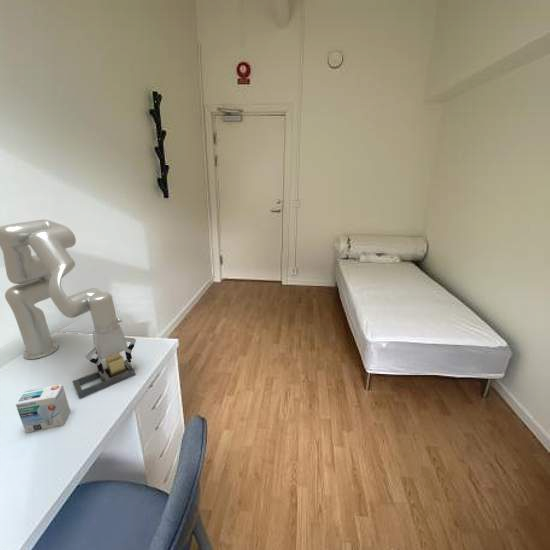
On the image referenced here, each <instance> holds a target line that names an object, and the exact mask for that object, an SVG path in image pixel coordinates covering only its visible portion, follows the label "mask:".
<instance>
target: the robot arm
mask: <svg viewBox="0 0 550 550" xmlns="http://www.w3.org/2000/svg"><path fill="white" fill-rule="evenodd" d="M76 240H77V238H76V236H75V234H74V232H73V231H72V230H71V229H70V228H69V227H67V226H66V225H63V224H62V223H58V222H55V221H52V220H49V219H35V220H29V221H24V222H22V221H21V222H17V223H9V224H6V225H2V226H0V249H1V252H2V255H3V261H4V267H5V272H6V277H7V279H8V281H9V282H10V283H12V284H15V285H13V286H11V287H9V288H8V289H7V290H6V291H5V292H4V299H5V300H6V302H7V304H8V306H9V308H10V309H11V310H12V313H13V315H14V318H15V320H16V323H17V326H18V329H19V332H20V335H21V338H22V341H23V345H24V347H25V350H24V352H23V354H22V356H23V358H24V359H25V360H36V359H41V358H44V357H47V356H49V355H51V354H53V353H55V352H56V351H57V350H58V349H59V345H58V343H57V342H55V341H53V338H52V336H51V333H50V332H51V331H50V329H49V326H48V322H47V319H46V316H45V313H44V311H43V310H42V309H41V308H39V307H37V306H36V304H38V303H39V302H43V301H46V300H48V299H50V298H51V301H52V302H53V304H54V305H55V307H56V308H57V309H58V310H59V312H61V314H62V315H63V316H64V317H66V318H70V319H73V318H78V317H79V316H81V315H84V314H86V313H88V312H90V316H91V320H92V323H93V326H94V327H93V328H94V331H93V332H92V337H93V338H92V339H93V340H92V341H93V346H94V348H92V349H91V350H90V351H89V352H88V353H87V354H86V355H84V356H85V359H86V360H87V361H89V362H90V363H92V364H95V365H96V368H97V371H99V372H100V371H101V373H102V374H103V373H104V370H103V369H104V366H103V363H102V361H103V360H104V359H105V358H106V357H109V356H112V355H114V354H117V353H119V354H121V353H122V352H124V353H125V358H126V359H125V360H127V361H128V362H129V364H131V363H132V359H133V357H132V352H133V349H135V345H136V341H137V339H136V338H134V337H126V336H125V332H124V331H123V328H122V327H121V325H120V324H121V323H122V321H123V319H122V318H117V313H116V310H115V305H114V300H113V296H112V294H111V293H110V292H107V291H102V290H100V289H98V288H94V287H91V288H87V289H84V290H82V291H79V292H77V293H74V294H72V295H69V296H67V294H66V293H65V291H64V290H63V288H62V279H63V278H64V277H65V276H66V275H67V274H70V273H71V272H72V270H73V269H74V268H75V267H76V262H75V260H74V259H73V258H72V256H71V255H70V254H69V252H68V250H67V249H70V248H73V247H74V246H75V245H76ZM30 247H31V248H30ZM32 250H33V252H34V253H35V255H32ZM128 343H129V345H128ZM95 354H96V357H95V358H94V357H93V356H94V355H95Z"/></svg>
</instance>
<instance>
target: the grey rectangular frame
mask: <svg viewBox="0 0 550 550" xmlns="http://www.w3.org/2000/svg"><path fill="white" fill-rule="evenodd" d="M124 364H125V369H126V372H124V373H121V374H119V375H116V376H114V377H112V378H110V376H109V373H108V369H107V367H105V368H104V367H103V370H104V373H103V374H102V373H101V371H100V372H99V371H98V370H97V371H94V372H92V373H89V374H87V375H84V376H81V377H80V378H76V379H73V380H72V384H73V387H74V390H75V393H76V394H77V397H78V399H79V400H81V399H83V398H85V397H87V396H90V395H92V394H95V393H97V392H100V391H101V390H102V391H103V390H104V389H107V388H109V387H111V386H113V385H116V384H119V383H120V382H122V381H125V380H127V379H129V378H132V377H134V376H136V372H135V368H134V367H133V366H132V365H131V363H129V362H128V361H127V359H125V360H124ZM98 379H100V380H101V381H99V382H98V383H95V384H93V385H90V386H88V387H86V388H83V389H82V386H83V385H85V384H89V383H90V382H94V381H96V380H98Z"/></svg>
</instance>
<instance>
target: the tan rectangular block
mask: <svg viewBox="0 0 550 550" xmlns="http://www.w3.org/2000/svg"><path fill="white" fill-rule="evenodd" d="M104 361H105V363H106V364H105V365H106V368H107V369H108V373H109V374H108V376H109V378H112V377H114V376H116V375H119V374H121V373H124V372H126V371H127V370H126V369H125V364H124V361H125V360H124V357H123V356H122V354H121V353H117V354H114V355H112V356H109V357H106V358H104Z"/></svg>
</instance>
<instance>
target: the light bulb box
mask: <svg viewBox="0 0 550 550" xmlns="http://www.w3.org/2000/svg"><path fill="white" fill-rule="evenodd" d="M65 391H66V390H65V389H64V385H63V384H62V383H61V384H60V383H59V384H56V385H50V386H45V387H40V388H34V389H29V390H24V393H23V394H22V395H21V396H20V398H19V400H18V401H17V403H16V404H15V407H16V410H17V412H18V415H19V418H20V420H21V424H22V427H23V429H24V432H25V434H27V433H31V432H33V433H34V432H38V431H42V430H47V429H51V428H52V429H53V428H57V427H58V428H59V427H64V425H65V423H66V421H67V419H68V417H69V415H70V413H71V408H70V404H69V402H68V399H67V395H66V392H65Z"/></svg>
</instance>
